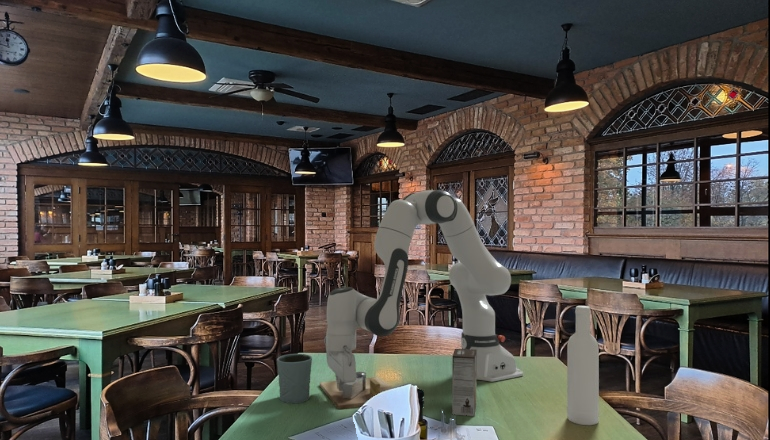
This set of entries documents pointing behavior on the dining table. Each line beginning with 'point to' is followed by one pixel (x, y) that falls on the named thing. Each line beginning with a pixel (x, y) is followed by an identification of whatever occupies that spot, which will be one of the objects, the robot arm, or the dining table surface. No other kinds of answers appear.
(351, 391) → the swing bar
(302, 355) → the grey cup
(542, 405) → the dining table surface
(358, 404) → the plate
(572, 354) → the bottle
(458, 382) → the coffee box
